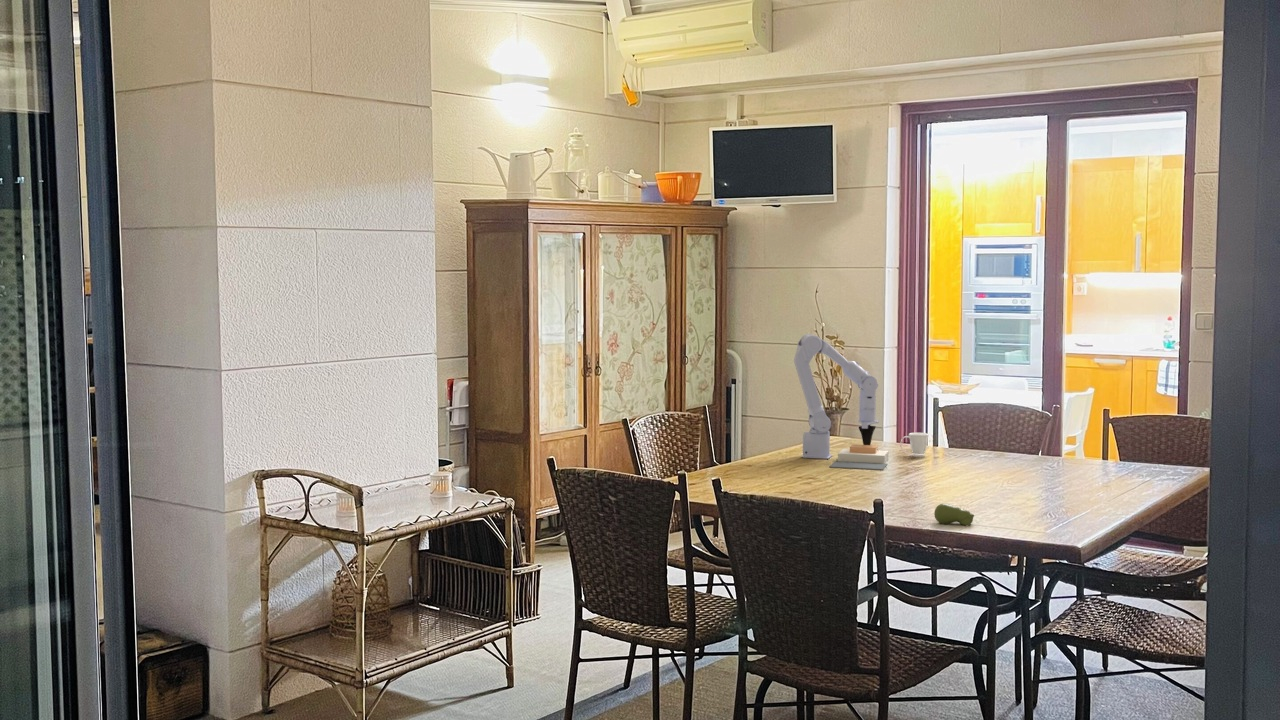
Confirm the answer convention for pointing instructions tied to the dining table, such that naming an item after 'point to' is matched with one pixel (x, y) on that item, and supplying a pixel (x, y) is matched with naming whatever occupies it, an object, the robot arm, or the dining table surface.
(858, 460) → the cream flat block
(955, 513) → the pear
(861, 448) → the tile
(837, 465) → the mat
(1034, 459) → the dining table surface
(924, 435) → the cup
